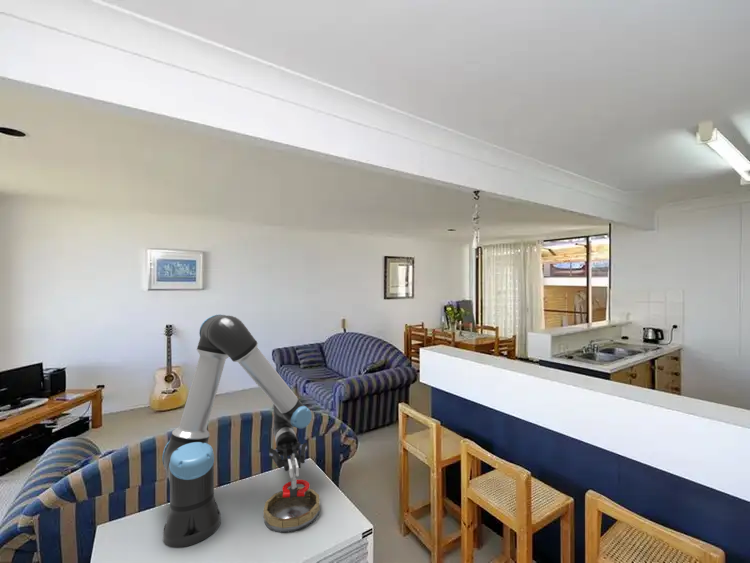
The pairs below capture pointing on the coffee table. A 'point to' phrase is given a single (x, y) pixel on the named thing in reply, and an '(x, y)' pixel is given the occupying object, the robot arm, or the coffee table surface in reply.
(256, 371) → the robot arm
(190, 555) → the coffee table surface
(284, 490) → the tow hook
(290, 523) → the wooden rimmed bowl
